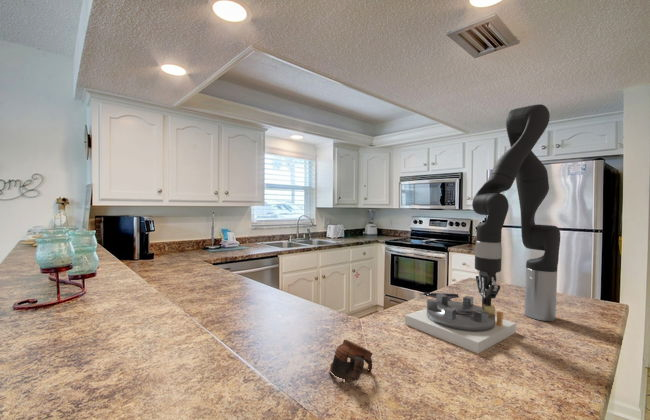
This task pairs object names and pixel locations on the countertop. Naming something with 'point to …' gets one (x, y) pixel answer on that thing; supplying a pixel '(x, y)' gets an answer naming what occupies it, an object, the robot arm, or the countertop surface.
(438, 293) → the bracket
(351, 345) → the pottery mug
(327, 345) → the countertop surface
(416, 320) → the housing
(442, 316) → the shallow round grey dish
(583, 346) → the countertop surface
